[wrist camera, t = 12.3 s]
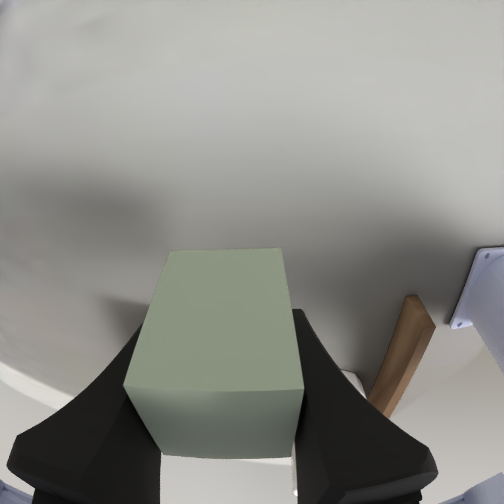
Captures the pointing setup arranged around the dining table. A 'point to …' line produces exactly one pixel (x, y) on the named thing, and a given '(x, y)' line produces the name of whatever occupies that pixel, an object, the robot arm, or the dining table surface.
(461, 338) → the dining table surface
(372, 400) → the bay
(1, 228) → the dining table surface
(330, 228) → the dining table surface
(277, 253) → the block
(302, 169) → the dining table surface
